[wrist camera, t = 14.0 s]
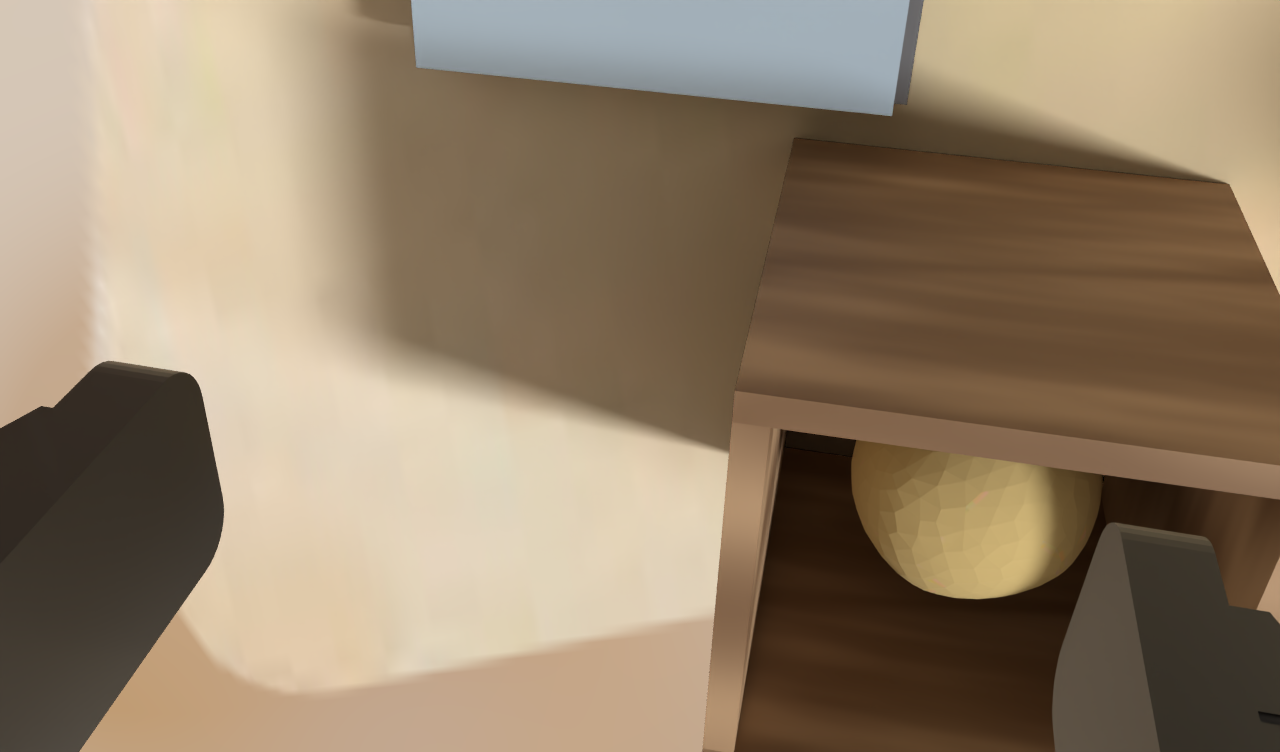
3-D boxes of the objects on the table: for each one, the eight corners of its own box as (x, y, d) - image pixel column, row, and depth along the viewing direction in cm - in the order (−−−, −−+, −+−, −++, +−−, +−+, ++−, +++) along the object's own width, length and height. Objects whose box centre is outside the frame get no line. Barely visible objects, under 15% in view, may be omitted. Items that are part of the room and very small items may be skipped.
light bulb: (889, 436, 41) (877, 659, 33) (841, 271, 38) (815, 472, 30) (1091, 404, 39) (1133, 635, 30) (1058, 226, 35) (1093, 430, 27)
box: (794, 137, 36) (734, 390, 25) (1229, 184, 34) (1362, 477, 23) (759, 462, 42) (700, 768, 32) (1120, 514, 41) (1184, 856, 30)
